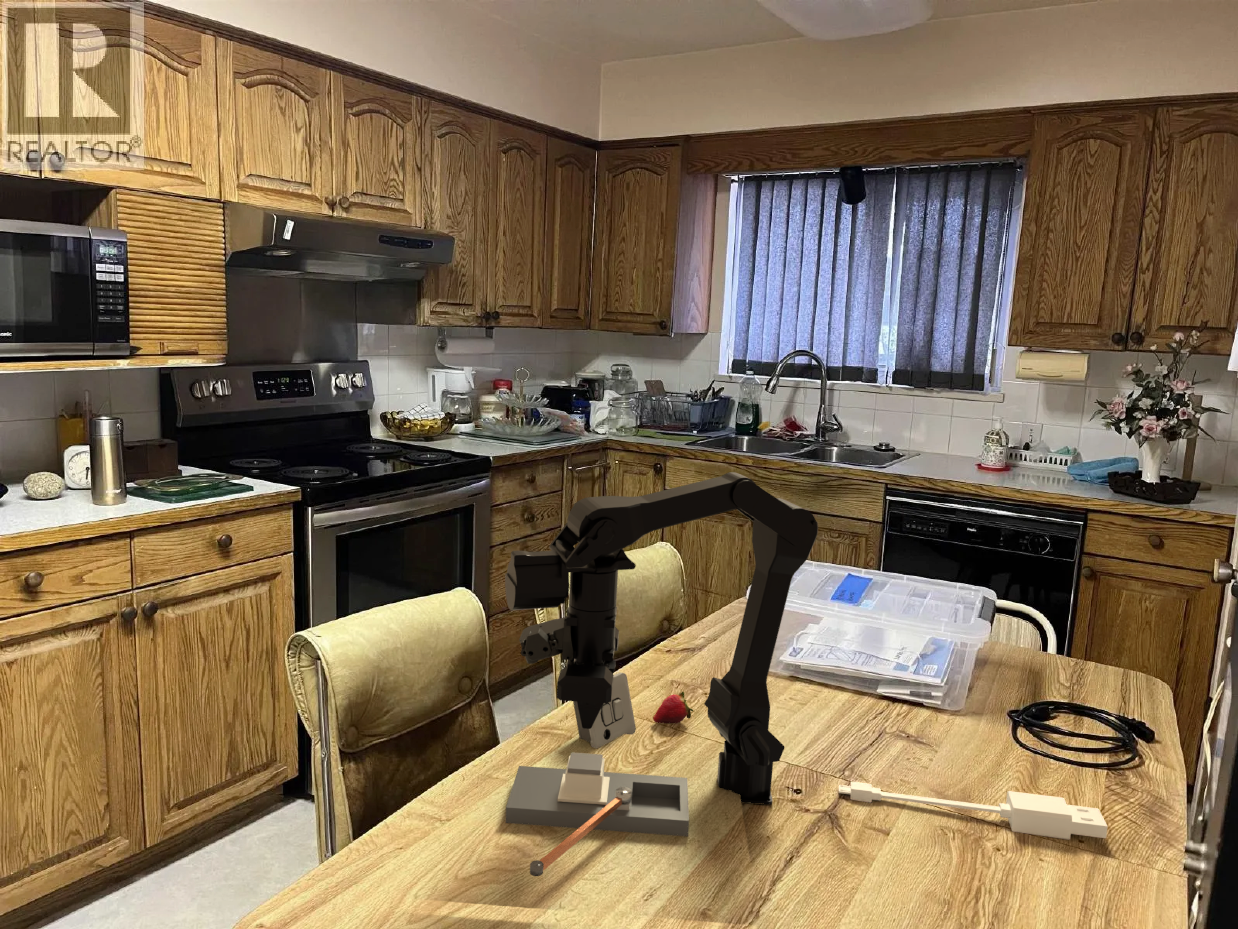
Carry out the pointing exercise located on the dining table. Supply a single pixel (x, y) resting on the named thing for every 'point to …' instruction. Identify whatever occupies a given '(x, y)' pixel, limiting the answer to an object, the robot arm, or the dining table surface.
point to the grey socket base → (650, 810)
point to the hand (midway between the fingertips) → (587, 725)
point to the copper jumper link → (581, 831)
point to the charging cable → (1011, 811)
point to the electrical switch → (610, 716)
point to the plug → (584, 780)
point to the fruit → (673, 710)
